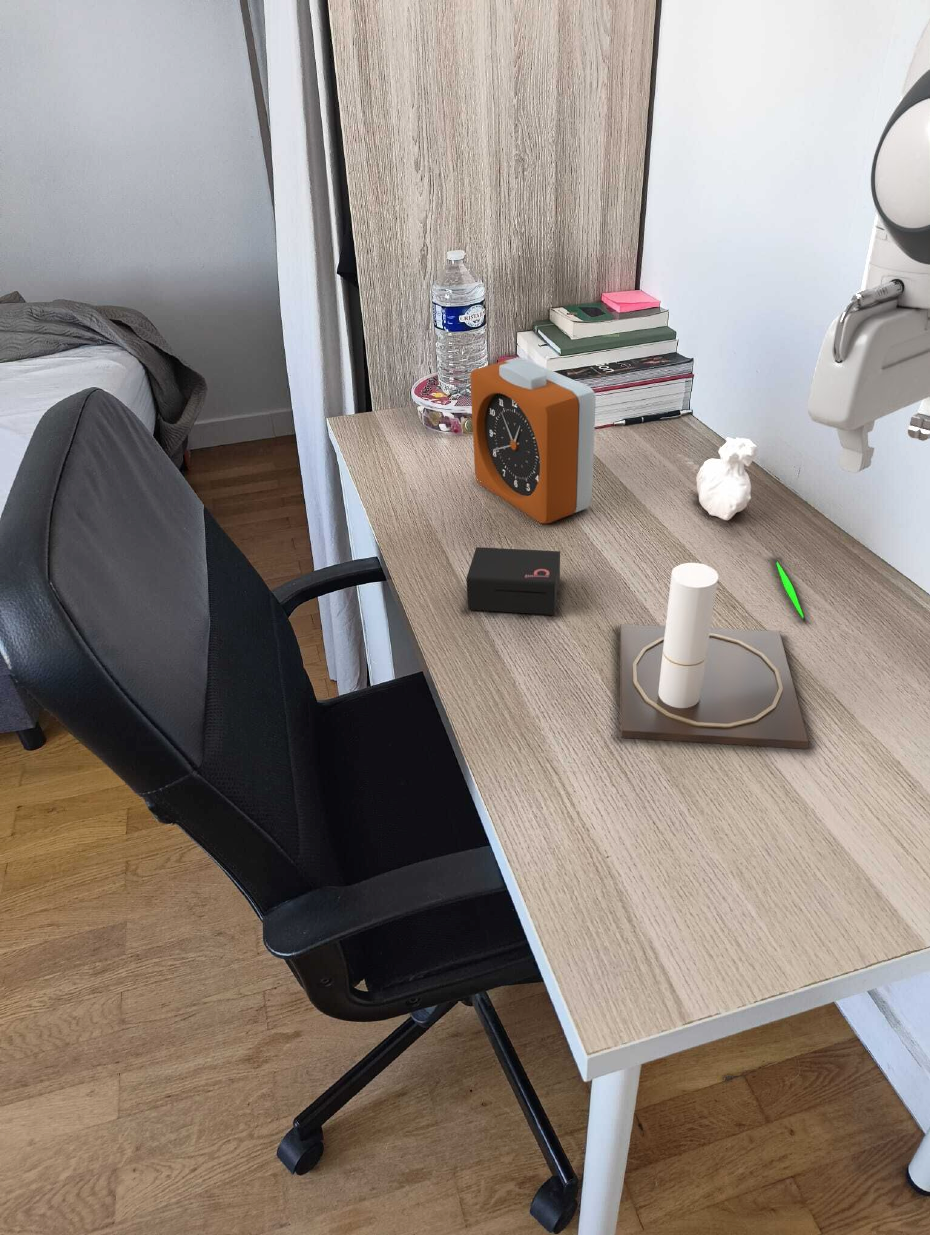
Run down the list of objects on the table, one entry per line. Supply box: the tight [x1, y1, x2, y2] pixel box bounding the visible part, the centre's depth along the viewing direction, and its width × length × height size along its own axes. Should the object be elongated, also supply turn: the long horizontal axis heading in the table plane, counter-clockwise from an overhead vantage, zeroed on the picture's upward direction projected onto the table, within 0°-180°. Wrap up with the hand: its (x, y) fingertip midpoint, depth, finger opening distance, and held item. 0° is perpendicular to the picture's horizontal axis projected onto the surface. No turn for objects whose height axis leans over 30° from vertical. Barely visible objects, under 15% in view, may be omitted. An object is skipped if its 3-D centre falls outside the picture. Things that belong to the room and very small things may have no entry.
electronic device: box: [466, 546, 561, 616], centre depth 104 cm, size 7×11×5 cm
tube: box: [658, 562, 719, 708], centre depth 84 cm, size 4×4×15 cm
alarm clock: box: [469, 356, 597, 524], centre depth 121 cm, size 18×9×21 cm, turn 33°
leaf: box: [775, 559, 806, 622], centre depth 104 cm, size 1×14×1 cm, turn 178°
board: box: [619, 623, 810, 750], centre depth 90 cm, size 18×18×1 cm
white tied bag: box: [695, 436, 759, 521], centre depth 119 cm, size 12×8×11 cm
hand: (888, 452), depth 67 cm, fingers open, 8 cm apart
